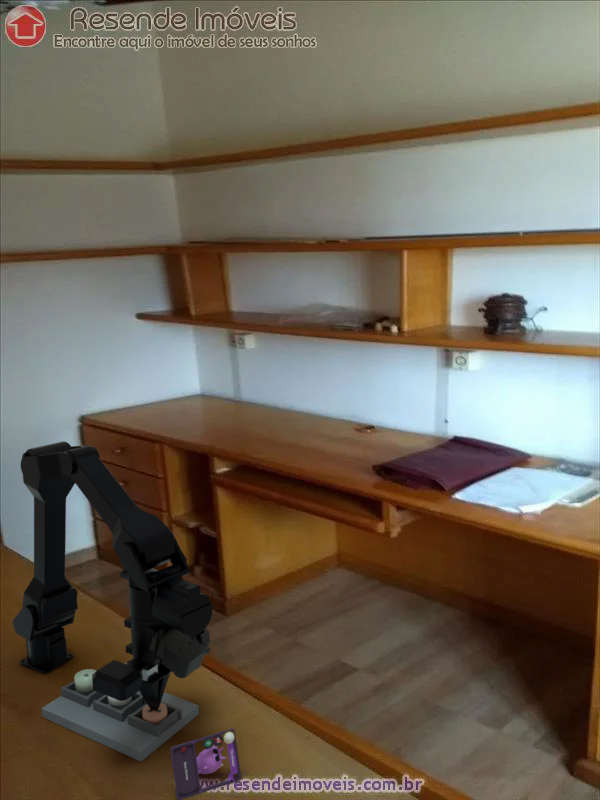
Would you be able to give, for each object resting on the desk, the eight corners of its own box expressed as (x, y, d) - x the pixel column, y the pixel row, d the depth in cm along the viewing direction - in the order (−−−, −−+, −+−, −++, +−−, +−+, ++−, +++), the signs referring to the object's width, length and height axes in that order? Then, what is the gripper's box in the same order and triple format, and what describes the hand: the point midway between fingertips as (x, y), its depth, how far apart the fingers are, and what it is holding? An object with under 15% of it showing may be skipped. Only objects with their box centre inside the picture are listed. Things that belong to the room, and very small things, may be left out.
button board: (42, 717, 121) (40, 700, 120) (104, 676, 131) (103, 661, 131) (140, 761, 110) (139, 743, 110) (199, 714, 121) (198, 697, 121)
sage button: (70, 688, 123) (69, 677, 123) (87, 677, 126) (86, 666, 126) (86, 694, 121) (85, 683, 121) (103, 683, 124) (103, 672, 124)
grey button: (102, 701, 120) (102, 690, 119) (119, 689, 123) (119, 679, 122) (120, 708, 118) (119, 697, 118) (137, 696, 121) (136, 685, 121)
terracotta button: (137, 722, 116) (137, 711, 116) (154, 710, 119) (153, 699, 119) (156, 730, 115) (155, 719, 114) (172, 717, 118) (172, 706, 117)
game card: (172, 749, 103) (236, 729, 107) (161, 739, 107) (223, 721, 111) (179, 802, 102) (243, 781, 106) (168, 790, 107) (230, 770, 111)
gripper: (148, 656, 101) (153, 763, 105) (234, 599, 117) (235, 694, 120) (86, 633, 107) (92, 736, 110) (175, 582, 123) (179, 673, 126)
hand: (154, 709), depth 117 cm, fingers closed, pressing on terracotta button
